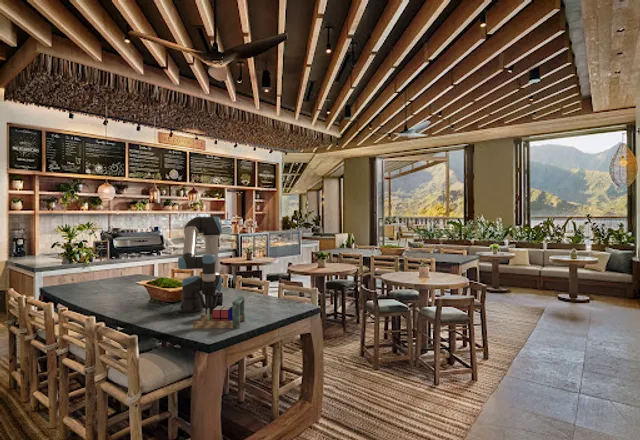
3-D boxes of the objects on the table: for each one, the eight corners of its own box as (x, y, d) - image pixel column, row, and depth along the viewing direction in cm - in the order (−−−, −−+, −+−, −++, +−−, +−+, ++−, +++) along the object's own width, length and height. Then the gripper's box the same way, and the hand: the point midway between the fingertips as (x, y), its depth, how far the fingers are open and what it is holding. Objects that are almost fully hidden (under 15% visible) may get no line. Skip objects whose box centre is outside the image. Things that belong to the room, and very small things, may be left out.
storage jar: (217, 314, 253) (216, 291, 253) (226, 316, 247) (226, 293, 247) (204, 317, 246) (203, 294, 246) (213, 319, 240) (212, 296, 239)
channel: (193, 328, 221) (192, 302, 221) (201, 321, 236) (200, 296, 236) (239, 328, 222) (239, 302, 221) (244, 320, 237) (244, 296, 236)
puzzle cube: (228, 326, 224) (228, 310, 224) (212, 326, 225) (212, 309, 224) (233, 322, 234) (233, 305, 234) (217, 321, 235) (217, 305, 234)
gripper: (195, 281, 225) (196, 321, 225) (217, 281, 225) (217, 321, 225) (200, 279, 232) (200, 317, 232) (221, 279, 232) (221, 318, 232)
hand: (208, 319), depth 229 cm, fingers closed
